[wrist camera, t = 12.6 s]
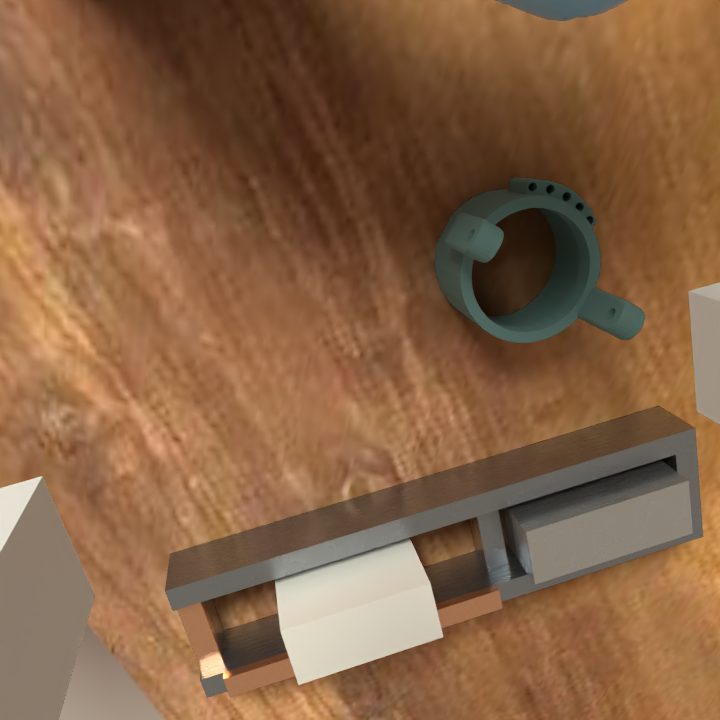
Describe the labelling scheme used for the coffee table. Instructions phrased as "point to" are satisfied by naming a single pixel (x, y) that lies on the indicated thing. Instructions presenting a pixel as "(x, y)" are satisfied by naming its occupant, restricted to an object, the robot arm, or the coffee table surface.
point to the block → (356, 610)
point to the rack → (488, 525)
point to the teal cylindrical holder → (569, 274)
